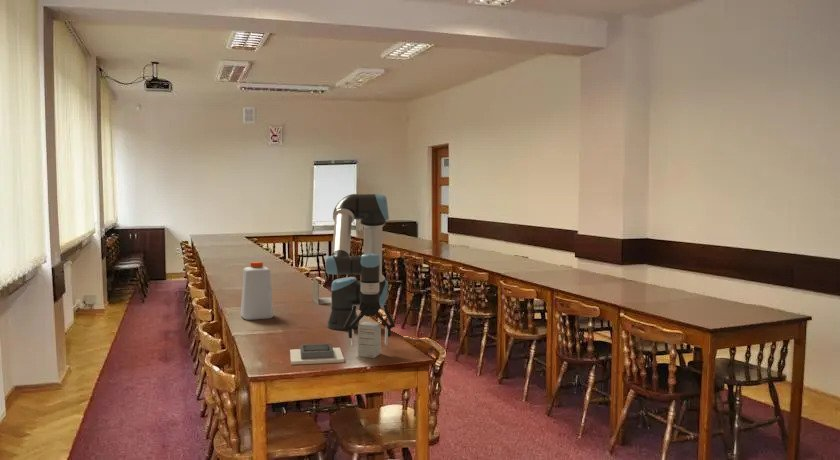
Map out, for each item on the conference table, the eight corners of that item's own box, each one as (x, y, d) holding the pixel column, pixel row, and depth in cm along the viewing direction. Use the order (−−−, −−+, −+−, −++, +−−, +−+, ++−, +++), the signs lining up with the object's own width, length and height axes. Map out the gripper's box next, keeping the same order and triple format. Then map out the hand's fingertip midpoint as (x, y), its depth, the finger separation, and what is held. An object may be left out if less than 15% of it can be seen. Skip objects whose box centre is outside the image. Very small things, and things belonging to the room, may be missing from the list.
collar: (299, 350, 260) (299, 344, 260) (331, 349, 263) (331, 343, 263) (301, 359, 248) (301, 352, 248) (333, 357, 251) (333, 351, 251)
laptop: (339, 303, 370) (339, 281, 370) (317, 304, 366) (318, 281, 366) (333, 298, 387) (333, 276, 387) (312, 299, 383) (312, 277, 383)
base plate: (290, 352, 262) (290, 349, 262) (339, 350, 266) (339, 347, 266) (291, 364, 245) (291, 361, 244) (344, 362, 249) (344, 359, 249)
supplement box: (364, 352, 265) (364, 321, 264) (381, 353, 263) (381, 322, 262) (357, 356, 258) (357, 325, 257) (374, 358, 255) (375, 326, 255)
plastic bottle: (244, 321, 320) (243, 264, 318) (239, 315, 334) (239, 261, 332) (274, 318, 326) (274, 263, 324) (269, 313, 340) (268, 260, 338)
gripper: (339, 294, 252) (339, 348, 253) (402, 293, 257) (401, 346, 259) (337, 291, 259) (337, 344, 261) (399, 290, 265) (398, 341, 266)
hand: (369, 345), depth 260 cm, fingers open, 13 cm apart
